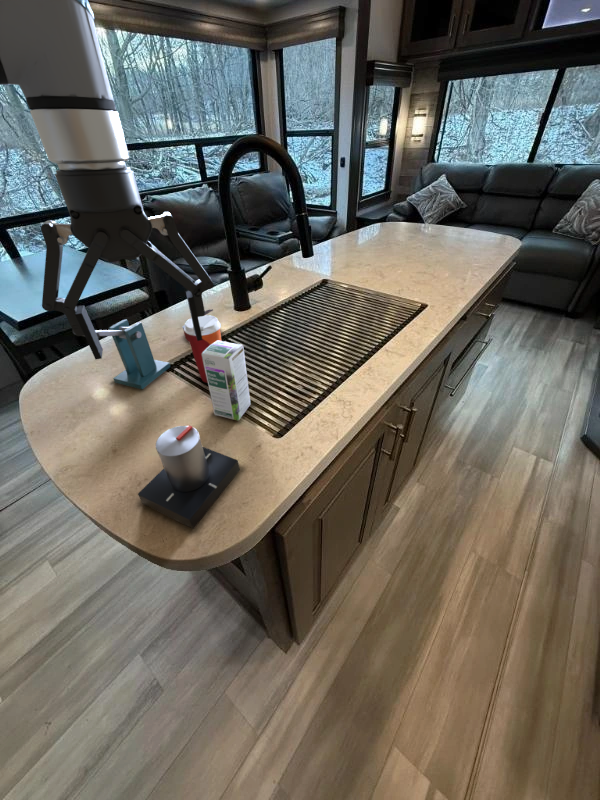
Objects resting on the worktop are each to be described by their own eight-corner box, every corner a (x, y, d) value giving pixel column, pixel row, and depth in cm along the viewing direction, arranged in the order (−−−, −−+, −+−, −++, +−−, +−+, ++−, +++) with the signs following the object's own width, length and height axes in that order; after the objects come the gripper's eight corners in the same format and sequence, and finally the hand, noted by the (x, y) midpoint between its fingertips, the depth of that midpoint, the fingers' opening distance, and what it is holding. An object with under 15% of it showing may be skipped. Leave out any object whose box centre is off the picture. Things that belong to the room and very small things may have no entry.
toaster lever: (94, 342, 62) (93, 329, 62) (72, 337, 64) (72, 324, 63) (143, 340, 73) (143, 329, 73) (123, 336, 75) (123, 325, 74)
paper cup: (226, 386, 75) (215, 329, 66) (192, 386, 75) (177, 329, 67) (232, 367, 81) (223, 313, 73) (201, 367, 81) (188, 313, 73)
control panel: (193, 529, 48) (189, 519, 46) (141, 503, 51) (136, 493, 50) (240, 470, 56) (238, 459, 54) (193, 451, 60) (189, 440, 58)
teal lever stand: (142, 389, 74) (122, 338, 66) (114, 382, 77) (92, 332, 69) (170, 366, 82) (155, 318, 74) (144, 361, 84) (127, 313, 76)
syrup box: (213, 415, 67) (199, 353, 58) (228, 398, 71) (217, 338, 62) (238, 421, 66) (227, 358, 57) (252, 404, 70) (243, 343, 61)
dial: (192, 497, 49) (178, 460, 44) (161, 483, 51) (145, 446, 46) (217, 468, 53) (207, 431, 48) (187, 456, 55) (175, 419, 50)
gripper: (206, 160, 41) (230, 320, 54) (-39, 167, 34) (57, 349, 47) (218, 164, 36) (241, 340, 49) (-72, 173, 28) (47, 377, 42)
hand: (151, 345), depth 48 cm, fingers open, 13 cm apart
